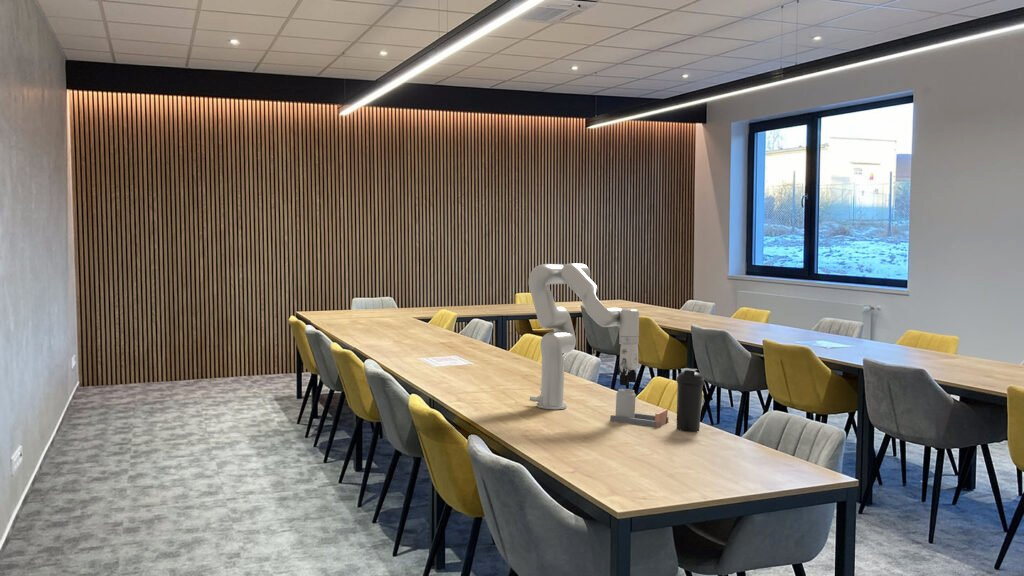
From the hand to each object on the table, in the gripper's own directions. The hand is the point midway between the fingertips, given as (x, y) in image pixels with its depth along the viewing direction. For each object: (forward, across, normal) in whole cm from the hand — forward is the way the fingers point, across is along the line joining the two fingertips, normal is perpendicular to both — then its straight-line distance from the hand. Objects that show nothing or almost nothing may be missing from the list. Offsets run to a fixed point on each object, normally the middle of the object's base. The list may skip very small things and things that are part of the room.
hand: (627, 383), depth 337 cm
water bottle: (+15, -3, -25) cm, 29 cm away
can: (+15, 0, +1) cm, 15 cm away
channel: (+14, 0, -5) cm, 15 cm away
